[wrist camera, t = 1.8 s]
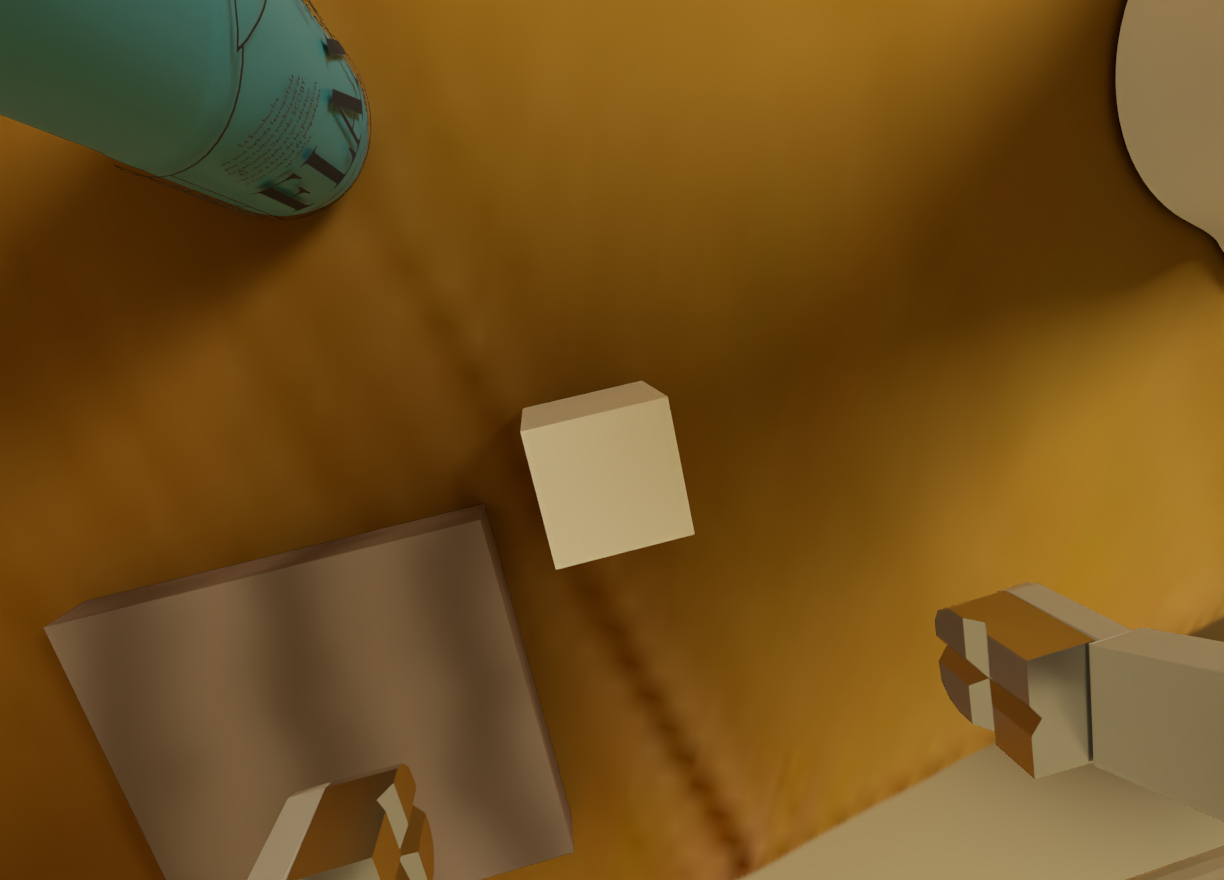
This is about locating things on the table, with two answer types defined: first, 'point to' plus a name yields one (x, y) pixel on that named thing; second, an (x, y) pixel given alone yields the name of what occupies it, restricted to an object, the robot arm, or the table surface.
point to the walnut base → (324, 697)
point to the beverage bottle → (193, 93)
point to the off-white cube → (606, 472)
